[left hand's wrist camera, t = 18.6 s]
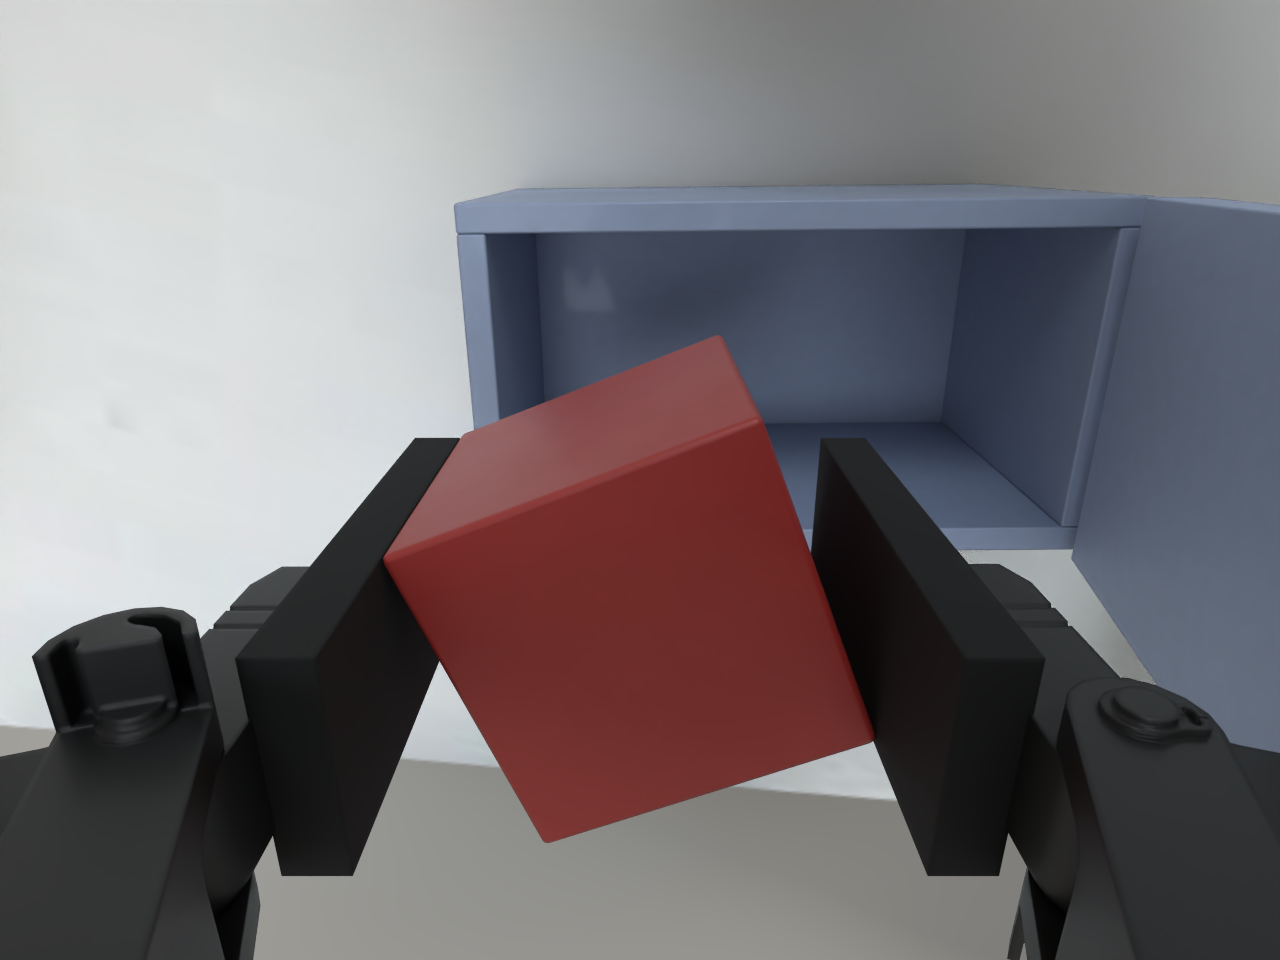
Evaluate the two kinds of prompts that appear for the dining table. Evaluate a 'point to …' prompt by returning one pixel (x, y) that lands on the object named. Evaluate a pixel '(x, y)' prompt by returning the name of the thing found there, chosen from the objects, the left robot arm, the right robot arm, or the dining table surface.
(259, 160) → the dining table surface
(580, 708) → the block
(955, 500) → the chest
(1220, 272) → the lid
